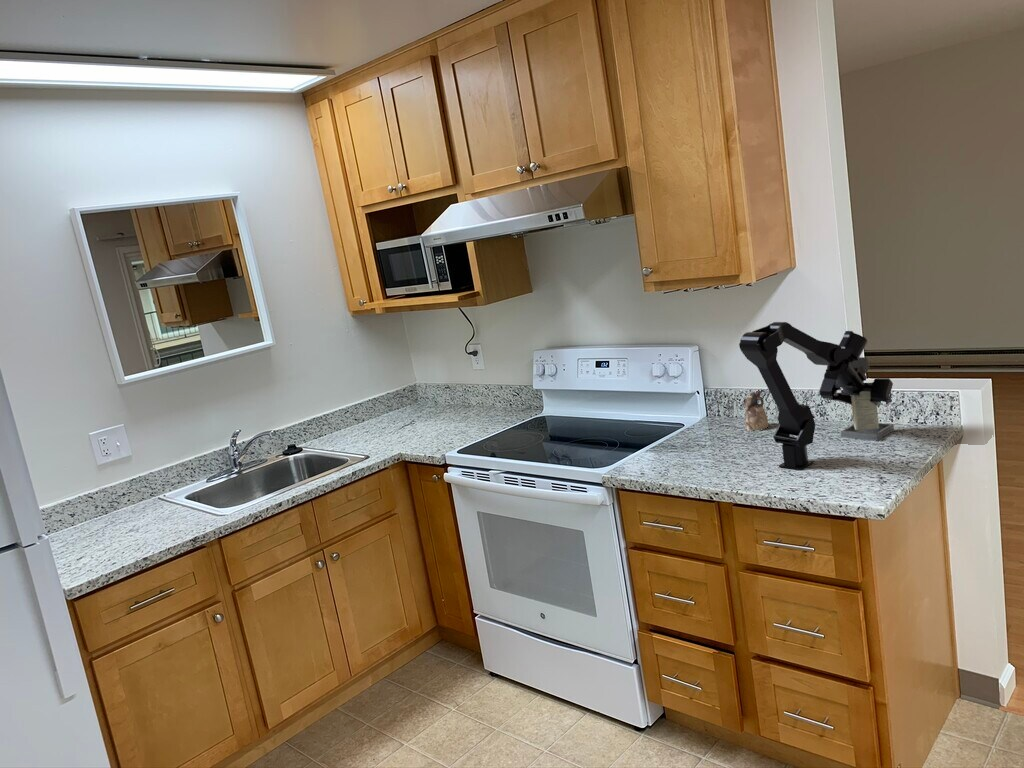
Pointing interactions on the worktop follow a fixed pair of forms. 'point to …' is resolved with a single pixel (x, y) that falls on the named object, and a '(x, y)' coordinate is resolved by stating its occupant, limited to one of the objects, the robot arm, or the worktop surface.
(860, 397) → the skincare box
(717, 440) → the worktop surface
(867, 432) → the square gray open tray
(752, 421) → the figurine
